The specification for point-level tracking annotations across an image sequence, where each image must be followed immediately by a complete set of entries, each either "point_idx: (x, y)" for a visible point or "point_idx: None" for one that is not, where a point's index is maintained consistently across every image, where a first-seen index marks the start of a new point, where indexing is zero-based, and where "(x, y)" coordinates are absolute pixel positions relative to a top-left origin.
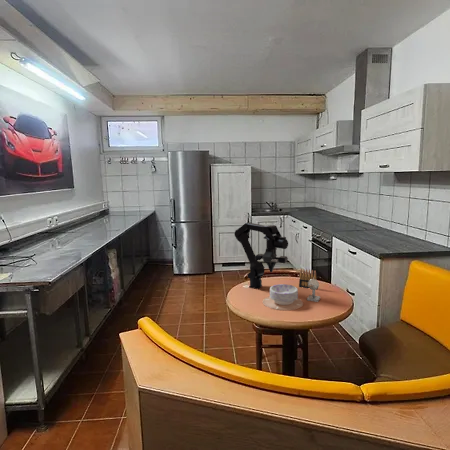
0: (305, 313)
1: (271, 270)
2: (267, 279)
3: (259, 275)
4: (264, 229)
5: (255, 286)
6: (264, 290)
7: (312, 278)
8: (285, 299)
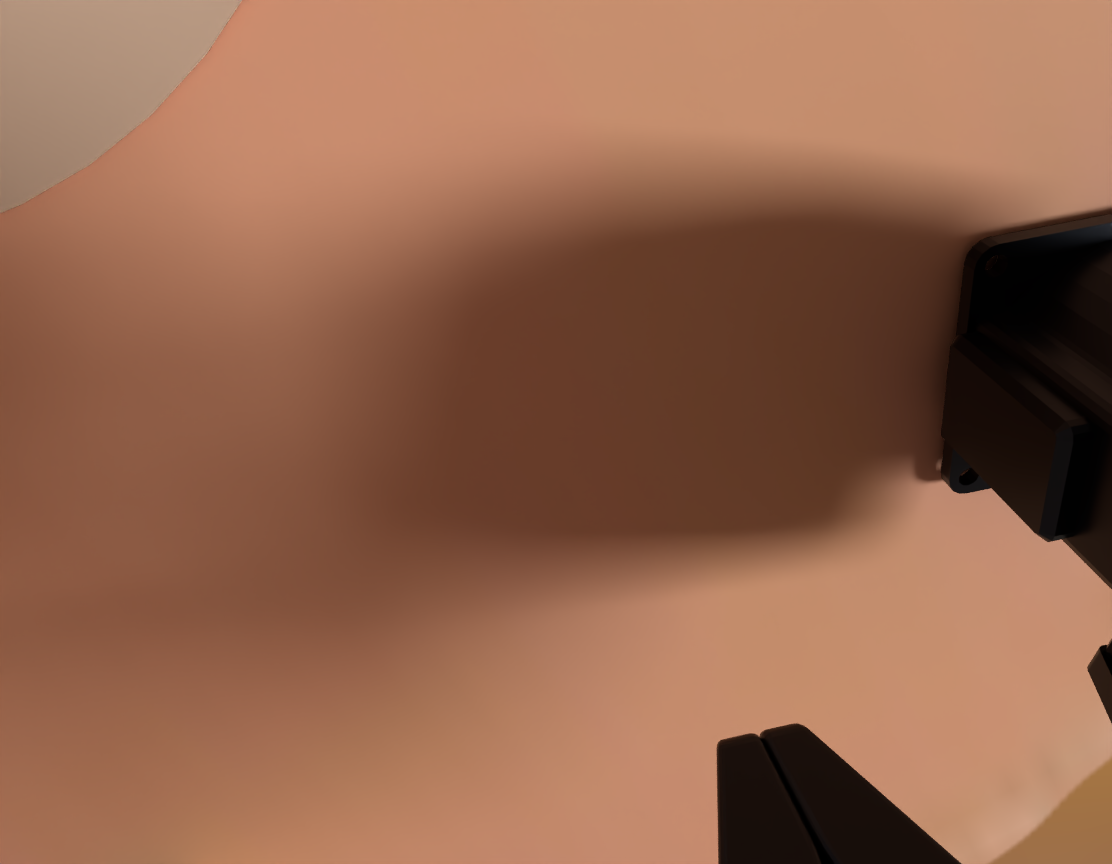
0: None
1: (756, 843)
2: (953, 814)
3: None
4: None
5: (1083, 267)
6: (761, 243)
7: None
8: None
